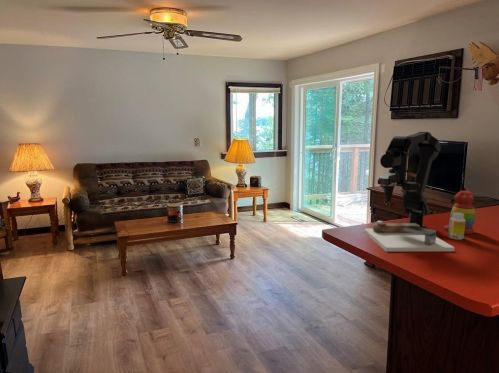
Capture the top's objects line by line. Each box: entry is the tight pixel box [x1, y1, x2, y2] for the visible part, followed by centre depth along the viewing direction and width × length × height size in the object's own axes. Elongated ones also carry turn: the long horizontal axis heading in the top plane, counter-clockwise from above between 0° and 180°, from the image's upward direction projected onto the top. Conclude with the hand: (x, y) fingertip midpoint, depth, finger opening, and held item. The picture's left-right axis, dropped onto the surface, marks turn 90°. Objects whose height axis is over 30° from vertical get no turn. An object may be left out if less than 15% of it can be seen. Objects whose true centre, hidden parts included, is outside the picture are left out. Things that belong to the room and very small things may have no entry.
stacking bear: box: [443, 190, 476, 235], centre depth 158 cm, size 11×10×18 cm
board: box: [363, 220, 455, 252], centre depth 145 cm, size 24×25×6 cm
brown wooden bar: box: [372, 222, 420, 232], centre depth 152 cm, size 18×5×2 cm, turn 91°
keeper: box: [404, 225, 438, 246], centre depth 140 cm, size 10×5×5 cm, turn 41°
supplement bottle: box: [447, 212, 465, 240], centre depth 149 cm, size 6×6×10 cm
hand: (396, 204), depth 153 cm, fingers open, 9 cm apart
